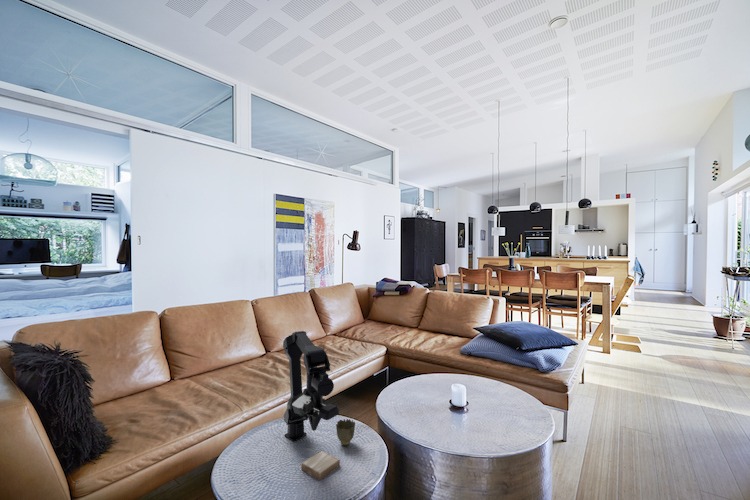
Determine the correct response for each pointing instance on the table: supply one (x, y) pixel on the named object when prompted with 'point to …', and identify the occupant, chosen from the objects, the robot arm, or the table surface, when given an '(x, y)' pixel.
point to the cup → (345, 431)
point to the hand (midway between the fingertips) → (314, 430)
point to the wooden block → (320, 465)
